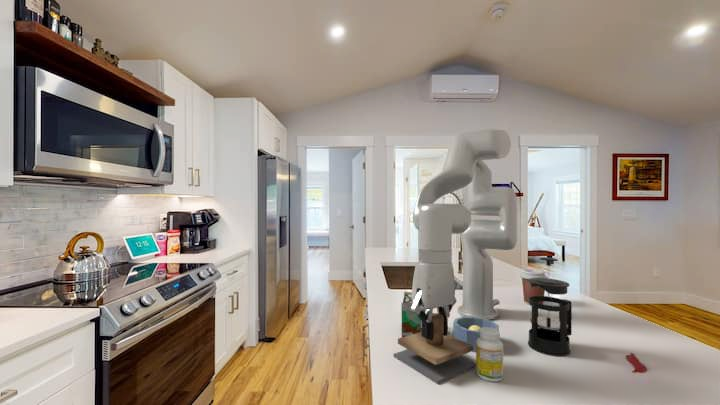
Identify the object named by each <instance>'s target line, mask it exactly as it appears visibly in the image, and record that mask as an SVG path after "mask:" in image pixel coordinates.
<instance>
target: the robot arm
mask: <svg viewBox="0 0 720 405" xmlns="http://www.w3.org/2000/svg"><path fill="white" fill-rule="evenodd" d="M511 145H512V144H511V137H510V135H509V133H508V132H507V131H506V130H503V129H495V128H494V129H483V130H475V131H474V130H473V131H467V132H466V131H465V132H461V133H458V134H456V135H455V136H453V137H452V139H451V140H450V144H449V146H448V150H447V153H446V156H445V161H444V164H443V167H442V170H441V171H440V172H439V173H437V174H436V175H435V176H433V177H432V178H431V179H430V180H429V181H428V182H426V183H425V184H424V186H423V187H422V188H421V189H420V191H419V193H418V196H417V197H416V201H415V204H414V208H413V212H412V222H413V227H415V229H417V230H418V262H416V263H415V267H414V272H413V278H412V286H411V287H412V289H411V290H412V291H411V292H412V303H413V305H412V307H411V311H412V312H414V313H415V314H417V315H418V317H419V319H420V320H421V335H422V337H424V338H426V339H428V340H430V341H431V340H433V322H431V320H432V313H434V312H433V311H434V310H435V309H436V311H437V312H436V313H437V314H441V315H443V316H444V336H447V335H449V334H448V333H449V330H448V329H449V328H448V327H449V325H448V324H449V323H448V322H449V320H448V319H449V318H450V316H451V312H452V309H453V307H454V306H455V305H456V304H457V298H456V282H455V281H456V280H455V273H454V272H455V271H454V266H453V261H452V260H453V259H452V258H453V256H452V255H453V243H452V242H453V241H452V240H453V234H454V235H459V236H460V241H461V251H462V305H460V306H458V307H457V313H458V314H460V315H461V316H462V317H478V318H484V319H487V320H490V321H492V320H494V319H495V320H496V319H497V318H498V317H499V312H498V311H497V310H496V309H495V306H497V305H500V303H501V301H500V299H499V298H495V299H494V263H493V262H494V261H493V259H492V258H491V256H490V255H489V253H488V252H487V251H486V250H500V251H502V250H503V251H510V250H513V249H514V248H515V247H516V246H517V242H518V201H517V195H516V191H515V190H514V189H513V188H511V187H509V186H493V182H492V181H493V180H492V175H493V174H492V170H491V169H490V167H489V166H488V165H487V164H486V162H484V161H486V160H489V161H490V160H499V159H500V160H501V159H504V158H506V157H507V156H508V155H509V153H510V151H511ZM463 188H464V204H460V203H436V201H438V200H439V199H441V198H442V197H445V196H446V195H449V194H451V193H454V192H456V191H459V190H461V189H463ZM472 215H473V216H480V217H481V216H487V217H488V216H489V217H490V216H491V217H493V216H494V217H499V218H500V220H499V219H495V220H494V219H477V218H475V219H472ZM420 306H421V307H420ZM426 311H427V312H426Z"/></svg>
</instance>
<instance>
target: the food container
mask: <svg viewBox="0 0 720 405" xmlns="http://www.w3.org/2000/svg"><path fill="white" fill-rule="evenodd" d="M402 299H403V300H402V302H401V338H402V337H405V336H409V335H412V334H416V333H419V332H421V320H420V319H419V317H418V315H417V314H415V313H414V312H412V311H411V307H412V305H413V303H412V291H411V292H410V291H404V292H403V298H402ZM420 307H421V306H420Z"/></svg>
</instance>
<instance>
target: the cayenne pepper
mask: <svg viewBox="0 0 720 405" xmlns="http://www.w3.org/2000/svg"><path fill="white" fill-rule="evenodd" d="M625 358H626V361H628V362H629V364H631V365H632V366H633V368H634V369H633V370H632V371H631V373H639V374H641V373H642V374H643V373H646V371H647V370H648V368H647V366H646V365H645V364H643V363H642V362H641V361H640V360H639V358H637V356H636V354H635V353H633V352H631V353H630V354H626V355H625Z"/></svg>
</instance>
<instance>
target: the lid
mask: <svg viewBox="0 0 720 405" xmlns="http://www.w3.org/2000/svg"><path fill="white" fill-rule="evenodd" d="M431 322H433V340H431V341H430V340H428V339H426V338H424V337H422V335H421V332H419V333H416V334H412V335H409V336H405V337H402V336H401V337H398V338H397V344H398V345H399V346H401V347H403V348H405V350H407V349H408V350H410V351H412V352H414V353H415V354H417V355H419V356H421V357H422V358H424V359H426V360H428V361H430V362H431V363H433V364H435V365H437V364H440V363H443V362H445V361H448V360H451V359H453V358H456V357H458V356H464V355H466V354H469V353H471V352H472V351H473V345H471V344H468V343H466V342H464V341H461V340H459V339H457V338H455V337H453V335H449V334H448V335H447V336H444V316H443V315H441V314H438V313H437V312H436V313H435V312H433V313H432V320H431Z"/></svg>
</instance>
